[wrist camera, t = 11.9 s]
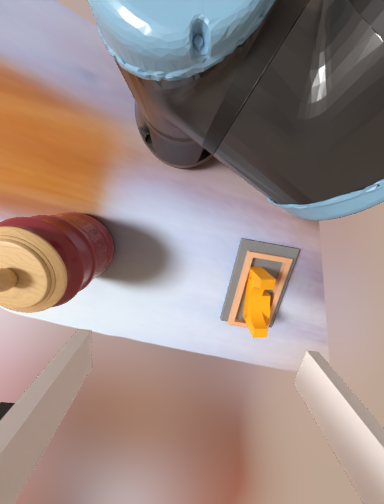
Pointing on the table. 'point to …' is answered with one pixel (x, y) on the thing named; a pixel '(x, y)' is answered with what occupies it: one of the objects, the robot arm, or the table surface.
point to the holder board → (270, 259)
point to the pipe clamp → (258, 300)
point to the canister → (50, 259)
